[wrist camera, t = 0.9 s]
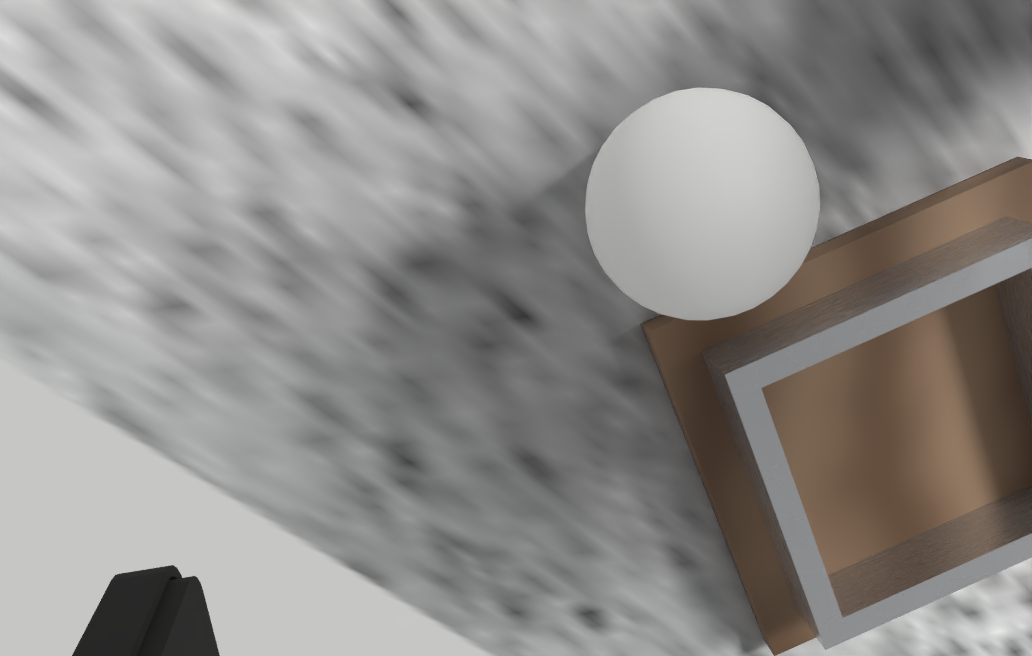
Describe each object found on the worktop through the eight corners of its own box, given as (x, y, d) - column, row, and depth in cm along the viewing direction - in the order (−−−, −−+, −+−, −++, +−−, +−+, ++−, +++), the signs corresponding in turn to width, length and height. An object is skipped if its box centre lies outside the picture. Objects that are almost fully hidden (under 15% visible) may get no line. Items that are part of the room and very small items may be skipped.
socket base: (1017, 156, 35) (1035, 160, 34) (1096, 492, 40) (1113, 503, 39) (640, 324, 35) (648, 331, 34) (764, 641, 40) (774, 655, 39)
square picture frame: (1006, 215, 35) (1052, 229, 32) (1072, 488, 38) (1118, 518, 36) (701, 351, 35) (724, 374, 32) (797, 611, 38) (825, 649, 36)
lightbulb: (600, 39, 32) (709, 42, 21) (745, 135, 34) (912, 180, 23) (505, 199, 33) (565, 275, 23) (650, 284, 35) (769, 391, 24)
